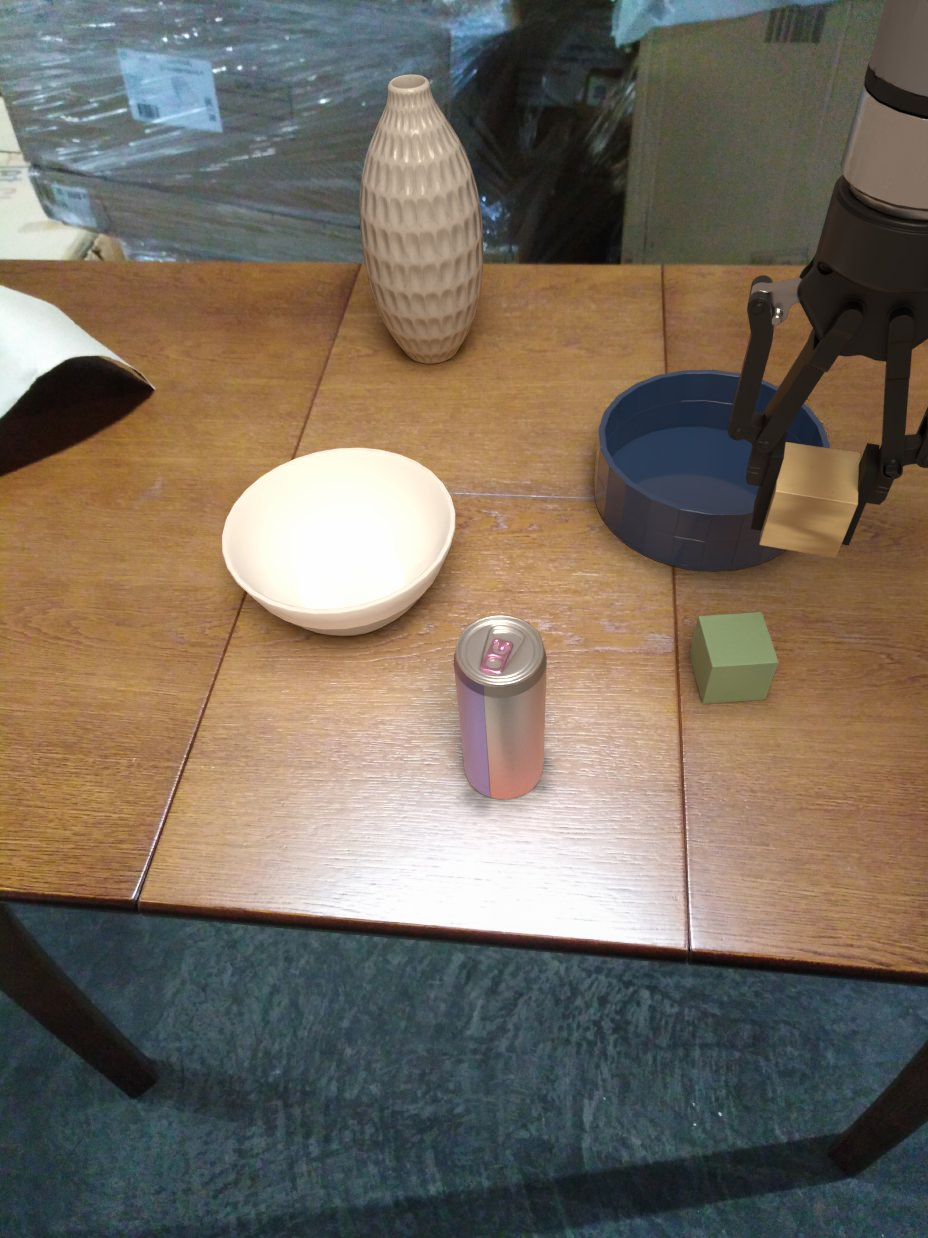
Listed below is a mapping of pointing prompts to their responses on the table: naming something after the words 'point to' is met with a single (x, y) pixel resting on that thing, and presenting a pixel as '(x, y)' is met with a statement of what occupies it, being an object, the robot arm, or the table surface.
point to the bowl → (340, 539)
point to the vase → (421, 225)
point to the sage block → (733, 657)
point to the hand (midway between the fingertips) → (800, 523)
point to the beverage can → (501, 704)
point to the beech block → (812, 500)
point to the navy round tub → (685, 470)
